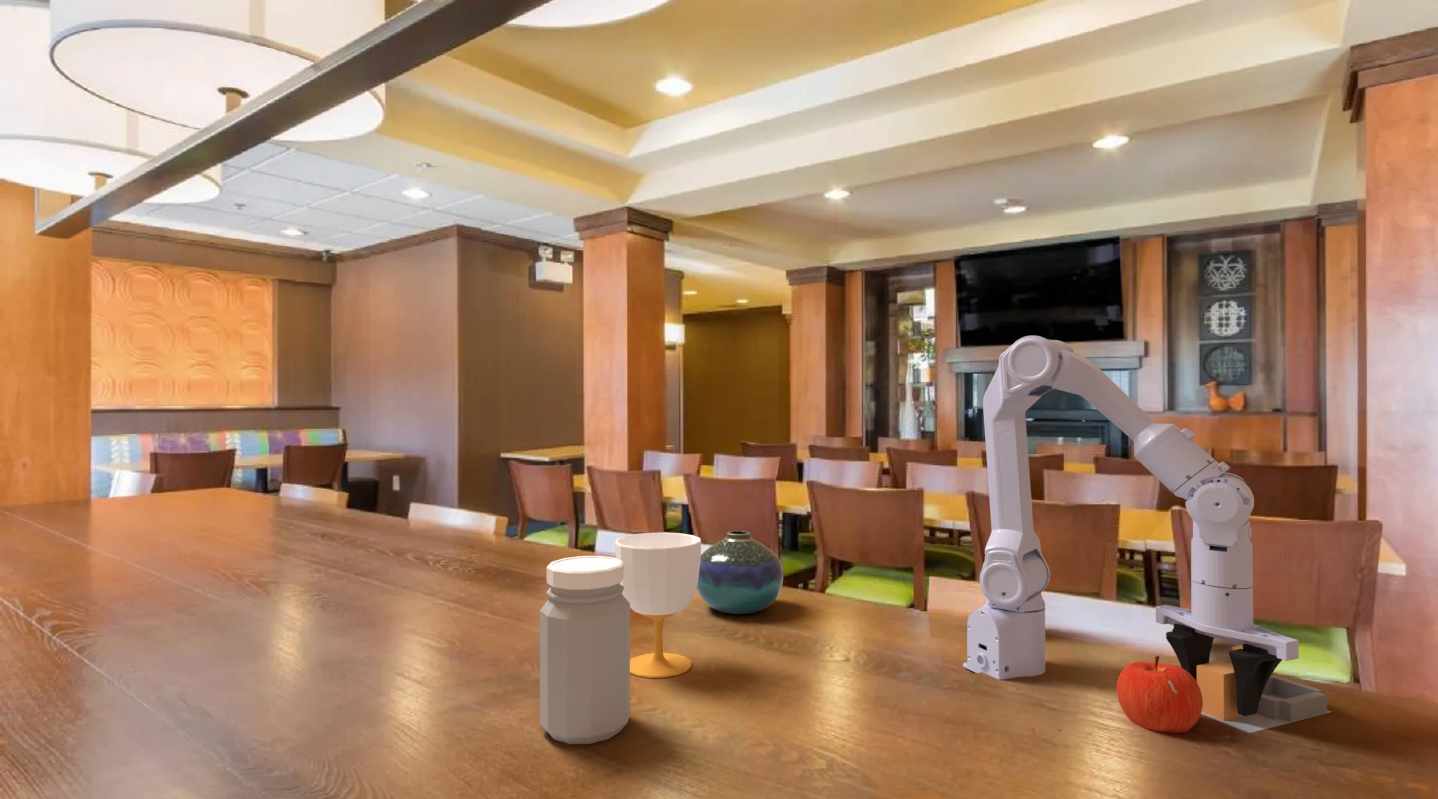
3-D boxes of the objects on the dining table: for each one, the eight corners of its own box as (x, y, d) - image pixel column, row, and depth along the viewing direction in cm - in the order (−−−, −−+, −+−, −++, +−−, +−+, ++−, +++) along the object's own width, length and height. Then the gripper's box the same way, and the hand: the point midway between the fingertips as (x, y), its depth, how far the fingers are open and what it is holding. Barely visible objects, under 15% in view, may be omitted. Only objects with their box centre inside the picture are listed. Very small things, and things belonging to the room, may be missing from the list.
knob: (1222, 697, 86) (1222, 645, 86) (1177, 680, 91) (1177, 631, 91) (1253, 690, 88) (1253, 639, 88) (1207, 674, 93) (1207, 626, 93)
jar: (642, 713, 84) (642, 556, 84) (611, 752, 74) (611, 575, 74) (563, 705, 86) (563, 552, 86) (523, 743, 76) (523, 570, 77)
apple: (1217, 748, 75) (1216, 670, 75) (1132, 742, 76) (1131, 666, 76) (1182, 716, 83) (1181, 645, 83) (1105, 711, 84) (1105, 641, 84)
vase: (728, 593, 137) (727, 522, 137) (799, 606, 128) (799, 530, 128) (676, 612, 124) (675, 534, 125) (751, 628, 115) (751, 544, 116)
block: (1223, 720, 80) (1223, 674, 80) (1196, 709, 82) (1196, 665, 82) (1247, 714, 81) (1247, 669, 81) (1220, 704, 84) (1220, 660, 84)
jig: (1249, 740, 77) (1249, 713, 77) (1130, 691, 90) (1130, 669, 90) (1332, 718, 82) (1332, 693, 82) (1208, 675, 95) (1208, 654, 95)
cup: (648, 646, 107) (648, 529, 107) (717, 660, 101) (717, 536, 101) (596, 671, 97) (596, 543, 97) (670, 689, 91) (670, 551, 91)
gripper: (1316, 594, 77) (1317, 724, 77) (1183, 566, 90) (1184, 676, 90) (1273, 601, 74) (1274, 735, 74) (1143, 571, 87) (1143, 685, 87)
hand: (1222, 704), depth 82 cm, fingers open, 5 cm apart
